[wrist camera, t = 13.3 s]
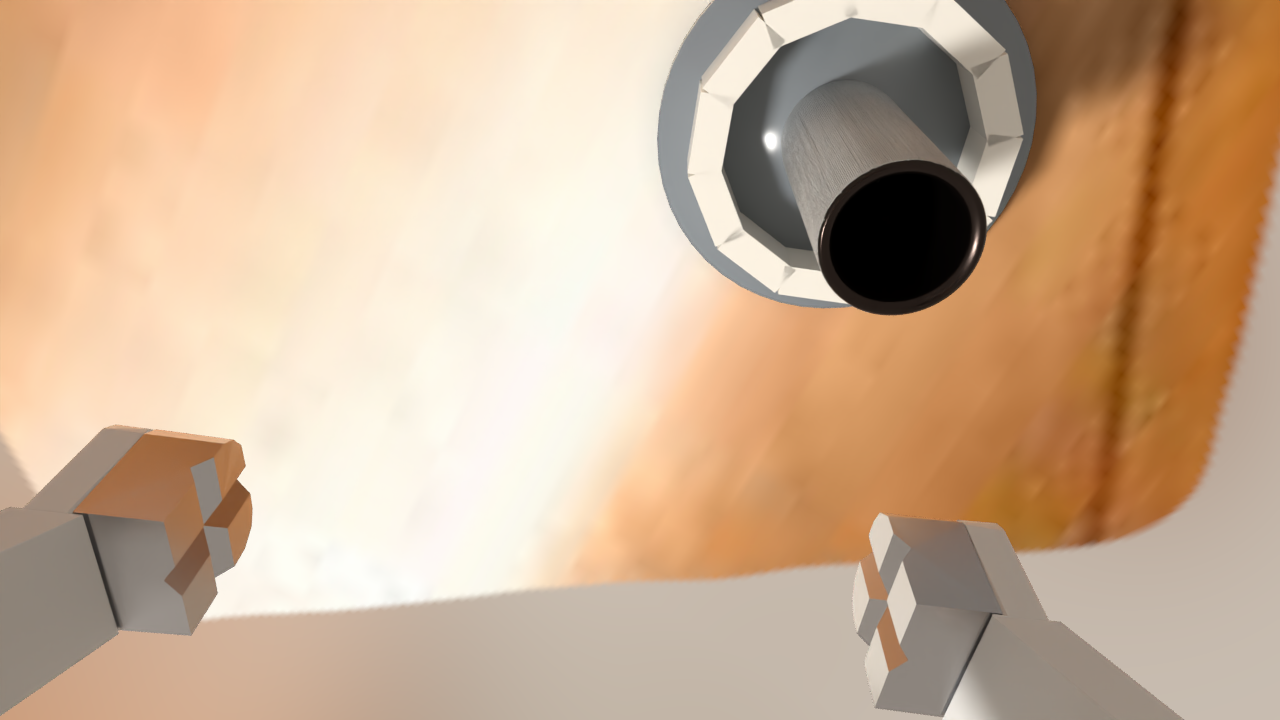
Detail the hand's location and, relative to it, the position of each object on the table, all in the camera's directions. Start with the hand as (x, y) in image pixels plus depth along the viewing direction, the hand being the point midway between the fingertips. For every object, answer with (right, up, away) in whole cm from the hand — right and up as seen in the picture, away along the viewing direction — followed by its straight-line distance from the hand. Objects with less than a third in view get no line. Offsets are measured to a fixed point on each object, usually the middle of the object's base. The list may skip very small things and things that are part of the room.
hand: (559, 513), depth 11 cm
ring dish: (+9, +11, +22) cm, 26 cm away
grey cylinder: (+9, +10, +21) cm, 25 cm away
